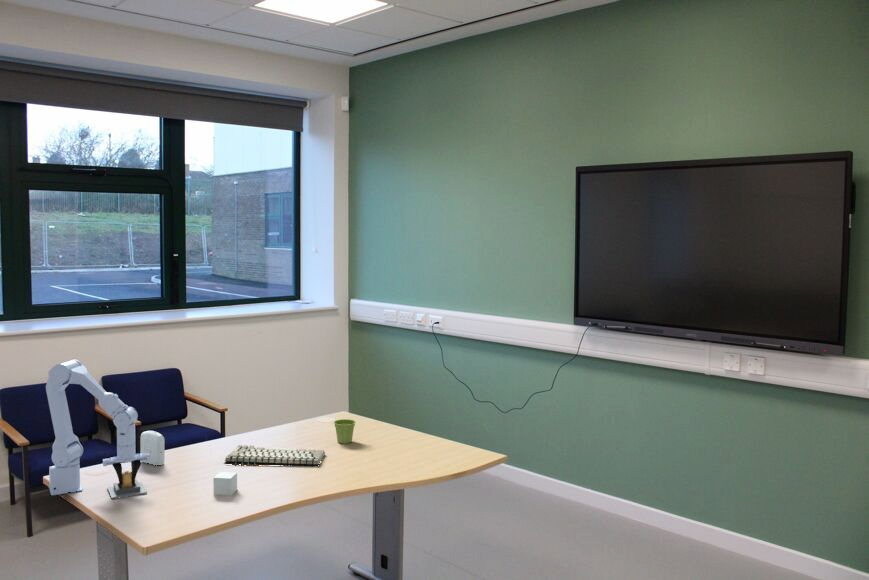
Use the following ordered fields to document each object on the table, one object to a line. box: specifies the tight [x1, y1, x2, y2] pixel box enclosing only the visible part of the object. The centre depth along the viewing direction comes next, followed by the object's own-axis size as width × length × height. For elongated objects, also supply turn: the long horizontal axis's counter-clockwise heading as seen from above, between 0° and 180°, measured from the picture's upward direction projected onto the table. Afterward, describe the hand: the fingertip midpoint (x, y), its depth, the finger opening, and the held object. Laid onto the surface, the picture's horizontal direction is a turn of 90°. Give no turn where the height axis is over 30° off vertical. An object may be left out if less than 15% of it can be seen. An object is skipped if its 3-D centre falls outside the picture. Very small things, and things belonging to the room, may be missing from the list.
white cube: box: [212, 471, 238, 496], centre depth 248 cm, size 6×6×6 cm
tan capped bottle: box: [122, 470, 132, 488], centre depth 247 cm, size 3×3×6 cm
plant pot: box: [333, 418, 357, 445], centre depth 309 cm, size 9×9×9 cm
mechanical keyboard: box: [223, 444, 326, 467], centre depth 285 cm, size 38×19×3 cm, turn 89°
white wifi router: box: [139, 430, 166, 467], centre depth 276 cm, size 10×4×12 cm, turn 60°
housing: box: [106, 479, 148, 500], centre depth 247 cm, size 11×11×2 cm
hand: (126, 483), depth 247 cm, fingers closed on tan capped bottle, 3 cm apart
